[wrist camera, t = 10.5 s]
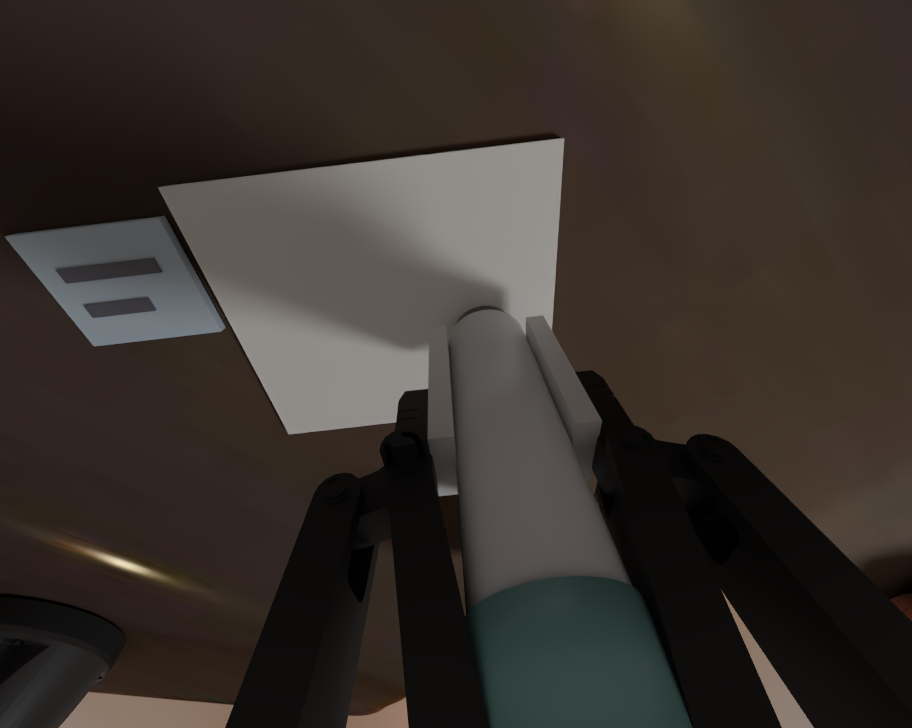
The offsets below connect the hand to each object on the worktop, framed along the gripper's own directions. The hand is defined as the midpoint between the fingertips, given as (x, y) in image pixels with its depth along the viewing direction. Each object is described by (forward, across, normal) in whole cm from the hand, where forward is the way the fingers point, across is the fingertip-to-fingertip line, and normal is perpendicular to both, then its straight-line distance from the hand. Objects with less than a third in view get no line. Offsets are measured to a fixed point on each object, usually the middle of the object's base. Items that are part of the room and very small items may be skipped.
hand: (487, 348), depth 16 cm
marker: (+1, 0, 0) cm, 1 cm away
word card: (+2, -15, +4) cm, 16 cm away
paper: (+2, -4, +1) cm, 5 cm away
